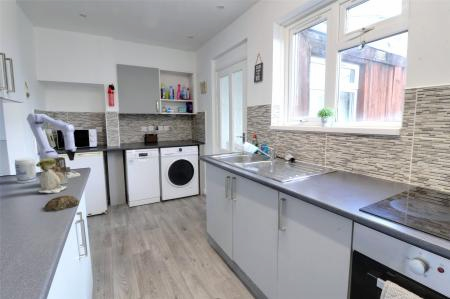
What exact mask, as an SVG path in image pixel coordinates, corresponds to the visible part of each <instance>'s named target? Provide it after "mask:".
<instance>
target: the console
mask: <svg viewBox="0 0 450 299" xmlns="http://www.w3.org/2000/svg"><path fill="white" fill-rule="evenodd" d="M80 176H81V173H79V172H77V171H74V170H71V169H70V172H67V177H68V179H71V178H74V177H80Z"/></svg>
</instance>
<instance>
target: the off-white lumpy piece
mask: <svg viewBox="0 0 450 299" xmlns="http://www.w3.org/2000/svg"><path fill="white" fill-rule="evenodd" d="M58 164H59V162H56V160H55V159H51V158H48V159H42V160H41V159H40V160H39V161H38V162H36V163H35V167H38V168H40V169H41V170H42V171H41V173H40V177H39V183H40V188H39V189H37V190H36V191H37V192H38V193H42V194H44V193H45V194H53V193H55V194H57V193H58V194H59V193H60V192H61V191H63V190H65V189H67V186H63V185H59V184H58V183H60V179H59V177H58V176H57V175H56V174H55V173H54V172H53V171H52V170H51V168H52V167H53V166H56V165H58Z"/></svg>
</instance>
